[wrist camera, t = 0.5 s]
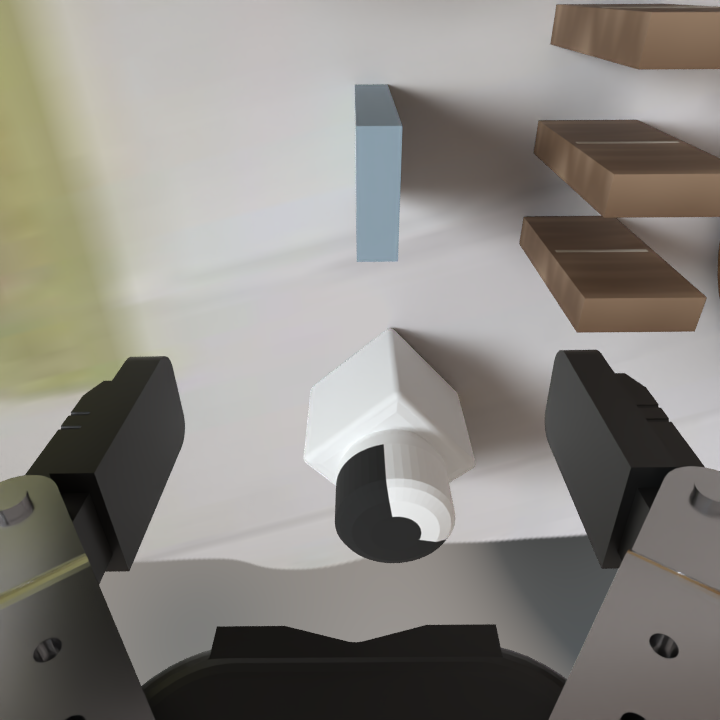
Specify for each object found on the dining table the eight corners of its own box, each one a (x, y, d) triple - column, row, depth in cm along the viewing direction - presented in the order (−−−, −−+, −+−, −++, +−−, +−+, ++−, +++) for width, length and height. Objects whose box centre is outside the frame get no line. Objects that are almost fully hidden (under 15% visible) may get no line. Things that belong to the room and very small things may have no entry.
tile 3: (556, 3, 26) (652, 11, 18) (665, 3, 26) (810, 10, 18) (550, 44, 27) (638, 69, 19) (655, 44, 27) (789, 69, 19)
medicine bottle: (379, 447, 41) (387, 597, 31) (308, 387, 38) (292, 531, 28) (459, 392, 38) (497, 536, 28) (390, 324, 35) (405, 457, 25)
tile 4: (538, 120, 29) (614, 174, 21) (636, 119, 29) (752, 172, 21) (533, 153, 30) (603, 218, 22) (628, 152, 30) (736, 217, 22)
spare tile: (355, 186, 31) (356, 261, 22) (354, 84, 28) (355, 126, 20) (385, 186, 31) (398, 261, 22) (387, 84, 28) (403, 125, 20)
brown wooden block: (523, 216, 32) (585, 298, 23) (613, 215, 32) (707, 297, 23) (519, 244, 33) (577, 332, 24) (606, 243, 33) (694, 331, 24)
